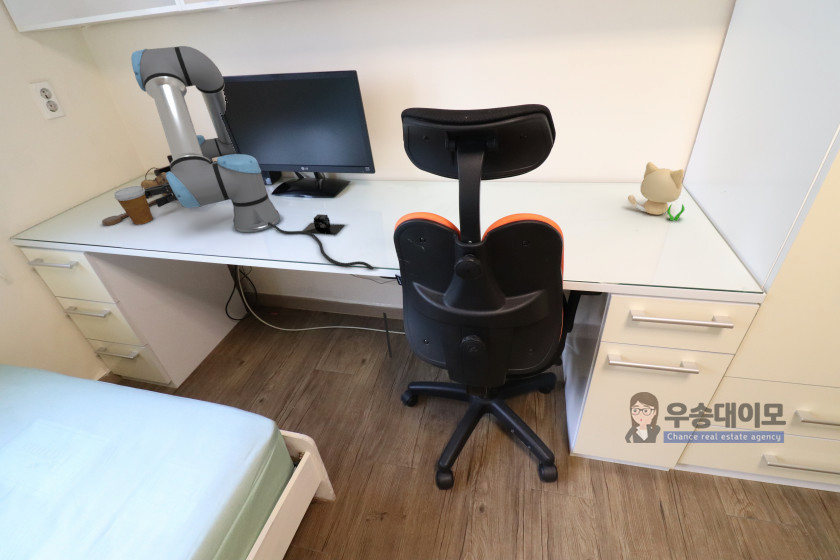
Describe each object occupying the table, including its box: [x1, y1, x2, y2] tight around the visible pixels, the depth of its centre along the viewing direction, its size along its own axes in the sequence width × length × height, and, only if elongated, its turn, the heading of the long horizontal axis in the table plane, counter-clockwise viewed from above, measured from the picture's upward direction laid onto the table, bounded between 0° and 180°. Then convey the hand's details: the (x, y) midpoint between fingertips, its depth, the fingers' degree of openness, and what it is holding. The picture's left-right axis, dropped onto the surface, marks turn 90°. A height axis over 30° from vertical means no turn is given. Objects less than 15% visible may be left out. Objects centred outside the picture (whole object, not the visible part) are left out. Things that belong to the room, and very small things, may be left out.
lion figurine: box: [140, 172, 169, 198], centre depth 167 cm, size 15×5×9 cm, turn 104°
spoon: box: [101, 197, 160, 227], centre depth 153 cm, size 6×24×2 cm, turn 159°
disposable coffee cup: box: [113, 185, 154, 226], centre depth 142 cm, size 10×10×12 cm
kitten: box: [627, 161, 686, 222], centre depth 117 cm, size 15×10×15 cm
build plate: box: [302, 214, 346, 236], centre depth 128 cm, size 12×7×5 cm, turn 75°
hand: (144, 202), depth 145 cm, fingers open, 13 cm apart
